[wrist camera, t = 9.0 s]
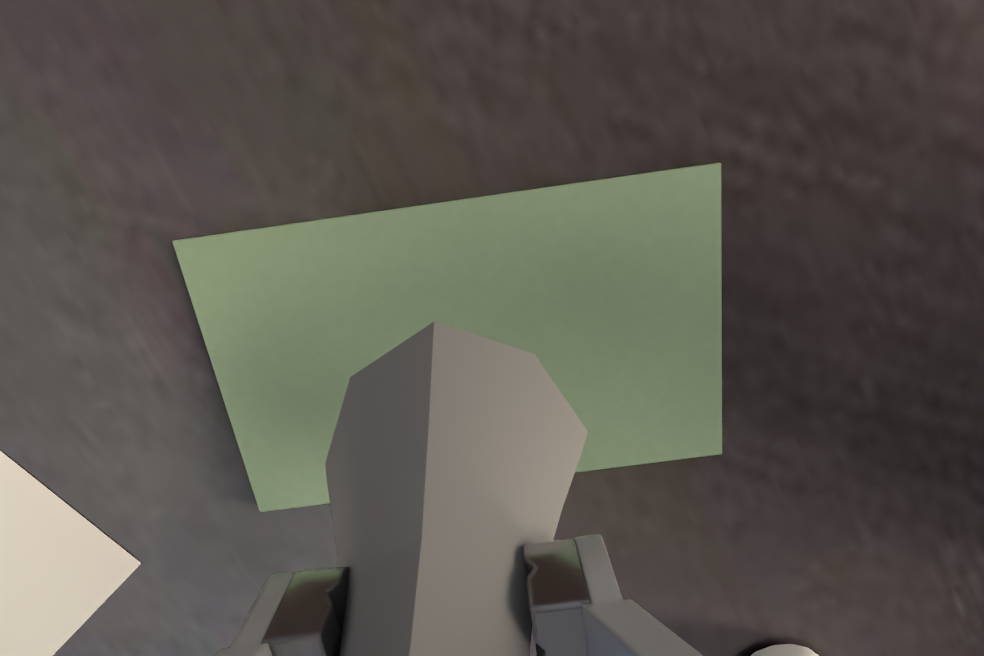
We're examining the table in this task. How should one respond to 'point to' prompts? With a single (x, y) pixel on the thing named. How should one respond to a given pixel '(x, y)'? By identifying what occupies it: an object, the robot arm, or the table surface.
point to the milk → (49, 566)
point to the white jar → (785, 651)
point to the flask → (447, 494)
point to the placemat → (474, 313)
